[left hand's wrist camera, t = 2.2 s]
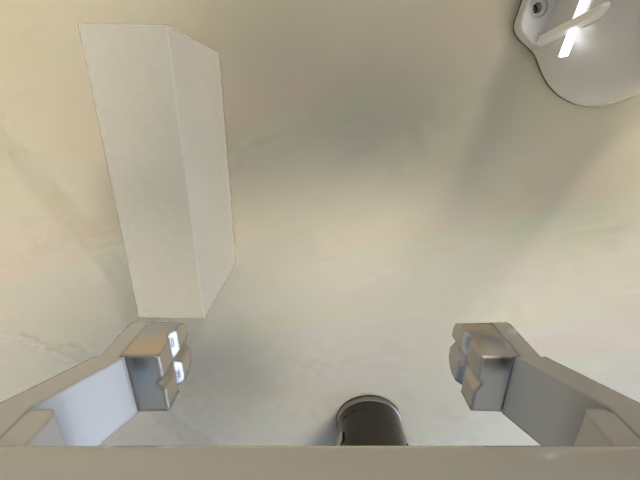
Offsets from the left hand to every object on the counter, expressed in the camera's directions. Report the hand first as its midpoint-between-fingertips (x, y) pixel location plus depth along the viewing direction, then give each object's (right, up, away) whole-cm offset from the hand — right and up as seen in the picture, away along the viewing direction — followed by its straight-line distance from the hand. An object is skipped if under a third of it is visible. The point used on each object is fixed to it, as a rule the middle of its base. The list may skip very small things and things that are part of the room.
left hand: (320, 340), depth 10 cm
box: (-13, +11, +27) cm, 32 cm away
